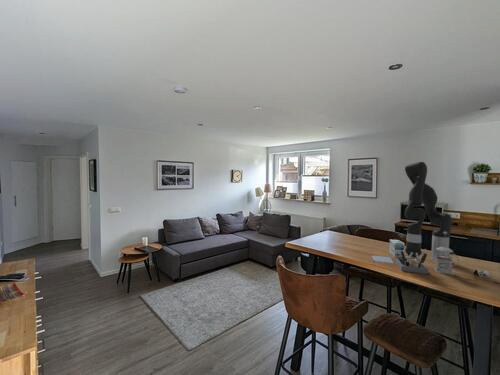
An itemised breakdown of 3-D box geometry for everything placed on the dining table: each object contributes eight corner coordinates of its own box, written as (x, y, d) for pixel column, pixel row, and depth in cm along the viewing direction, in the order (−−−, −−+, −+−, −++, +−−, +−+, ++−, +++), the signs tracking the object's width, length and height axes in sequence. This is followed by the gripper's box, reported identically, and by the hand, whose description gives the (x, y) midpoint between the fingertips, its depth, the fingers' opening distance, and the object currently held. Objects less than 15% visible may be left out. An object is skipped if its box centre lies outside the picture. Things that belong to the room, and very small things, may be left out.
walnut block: (412, 265, 154) (413, 256, 154) (414, 267, 150) (415, 258, 150) (404, 264, 156) (404, 255, 155) (406, 266, 151) (406, 257, 151)
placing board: (390, 258, 168) (390, 257, 168) (393, 263, 157) (393, 263, 157) (371, 256, 173) (371, 255, 173) (373, 261, 162) (373, 260, 162)
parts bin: (419, 265, 154) (420, 260, 154) (428, 274, 140) (428, 268, 140) (395, 262, 159) (396, 257, 159) (401, 271, 145) (401, 265, 145)
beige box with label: (415, 268, 147) (416, 259, 147) (417, 271, 143) (418, 261, 143) (407, 267, 149) (407, 258, 149) (409, 270, 145) (409, 260, 145)
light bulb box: (404, 258, 169) (405, 243, 168) (394, 257, 170) (394, 242, 170) (398, 253, 179) (399, 239, 179) (388, 253, 181) (389, 239, 180)
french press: (433, 267, 151) (435, 229, 150) (457, 272, 144) (459, 231, 143) (432, 272, 144) (434, 231, 143) (458, 277, 136) (460, 234, 135)
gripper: (425, 240, 146) (424, 267, 147) (398, 238, 152) (397, 264, 152) (429, 243, 139) (428, 272, 140) (401, 241, 145) (400, 268, 145)
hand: (412, 268), depth 146 cm, fingers closed on beige box with label, 4 cm apart
